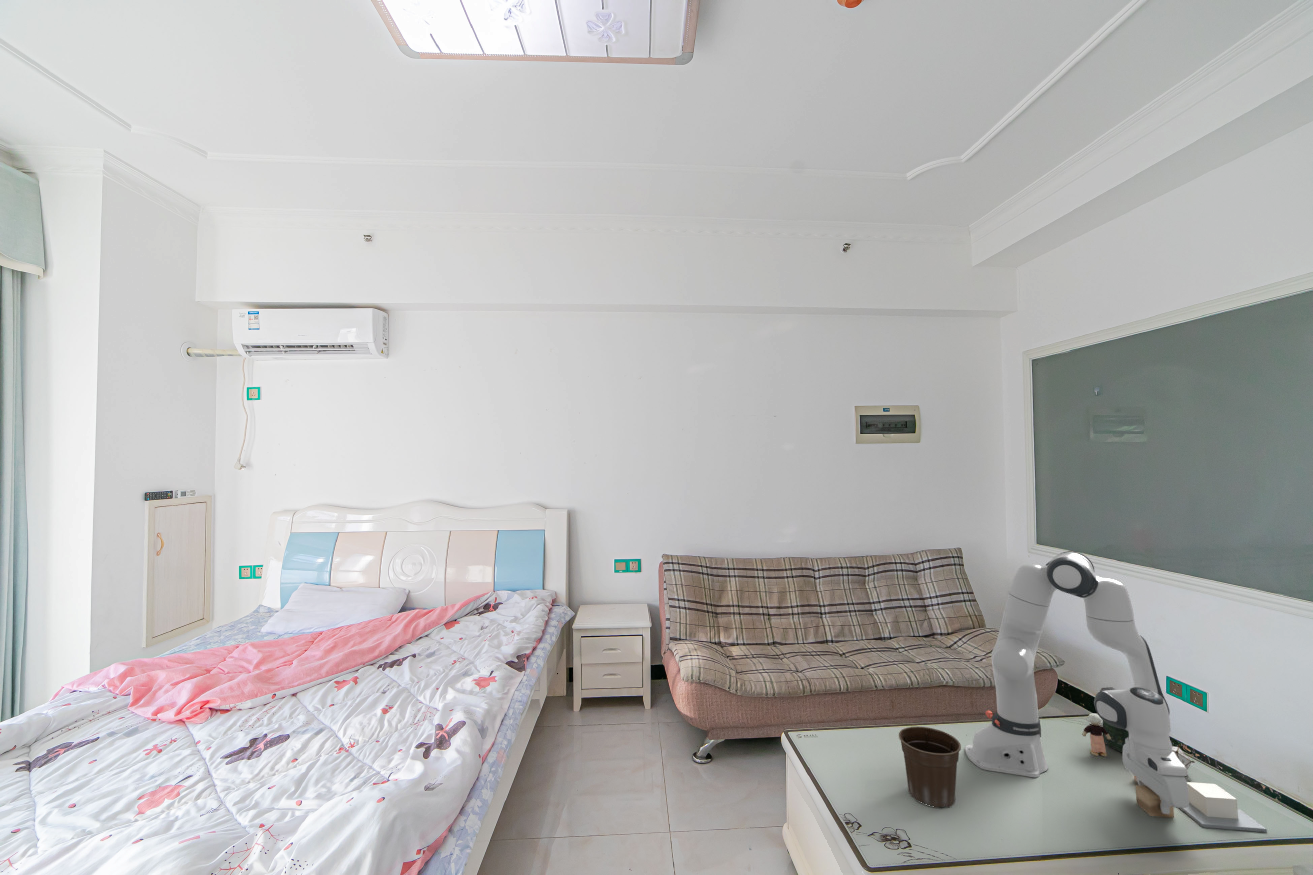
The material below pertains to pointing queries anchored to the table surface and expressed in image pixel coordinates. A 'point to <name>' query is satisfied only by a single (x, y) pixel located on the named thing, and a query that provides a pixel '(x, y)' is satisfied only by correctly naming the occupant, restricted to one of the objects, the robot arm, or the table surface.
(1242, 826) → the baseplate
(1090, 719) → the grandmother figurine
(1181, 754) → the game die
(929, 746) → the plant pot
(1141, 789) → the oak brick
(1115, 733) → the coffee jar
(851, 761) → the table surface
